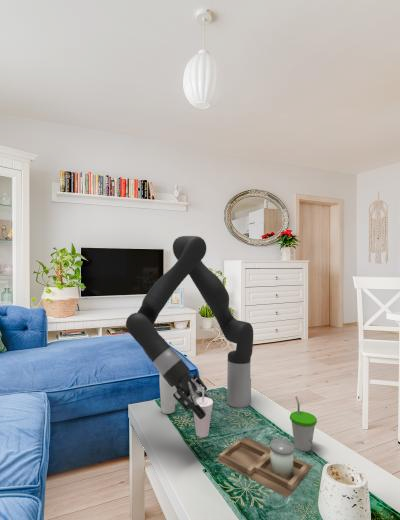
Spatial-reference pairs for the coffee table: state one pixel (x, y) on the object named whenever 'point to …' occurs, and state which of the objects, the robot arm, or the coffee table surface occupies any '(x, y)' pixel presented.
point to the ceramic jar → (281, 458)
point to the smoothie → (204, 423)
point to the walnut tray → (261, 466)
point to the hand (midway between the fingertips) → (207, 411)
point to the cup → (303, 429)
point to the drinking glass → (167, 396)
